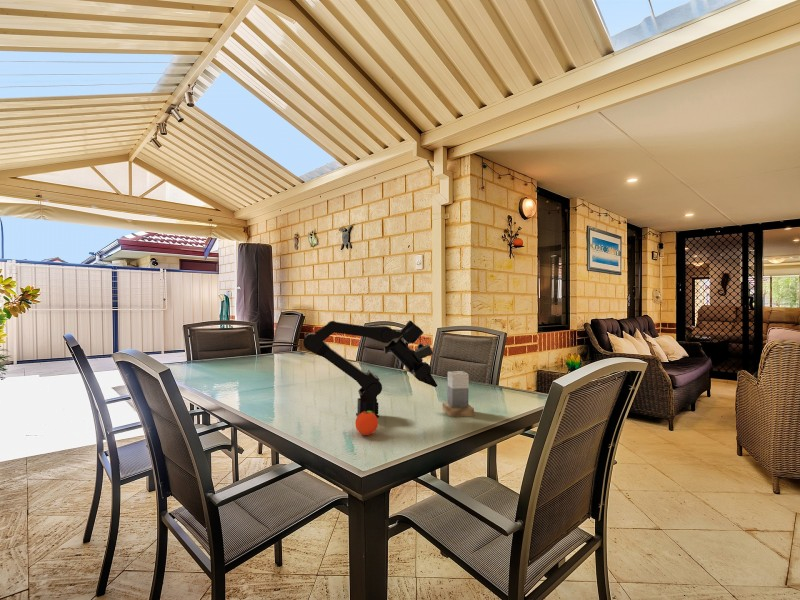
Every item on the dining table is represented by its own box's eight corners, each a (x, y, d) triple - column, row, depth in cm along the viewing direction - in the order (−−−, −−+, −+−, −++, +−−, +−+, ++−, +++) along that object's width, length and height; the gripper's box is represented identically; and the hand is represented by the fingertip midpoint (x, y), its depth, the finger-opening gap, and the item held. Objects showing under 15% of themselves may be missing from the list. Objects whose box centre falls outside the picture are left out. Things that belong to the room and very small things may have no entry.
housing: (452, 408, 140) (452, 374, 140) (447, 403, 146) (447, 371, 146) (468, 407, 141) (468, 374, 141) (462, 403, 147) (463, 371, 147)
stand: (449, 416, 138) (449, 409, 138) (442, 409, 147) (442, 402, 147) (473, 415, 139) (473, 408, 139) (465, 408, 148) (465, 402, 148)
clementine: (365, 428, 125) (366, 406, 125) (384, 432, 121) (384, 409, 121) (350, 435, 118) (350, 412, 118) (369, 440, 114) (369, 415, 114)
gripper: (425, 339, 132) (456, 372, 133) (414, 335, 150) (441, 363, 152) (402, 363, 130) (433, 395, 132) (393, 355, 149) (421, 384, 150)
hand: (433, 383), depth 142 cm, fingers open, 9 cm apart
